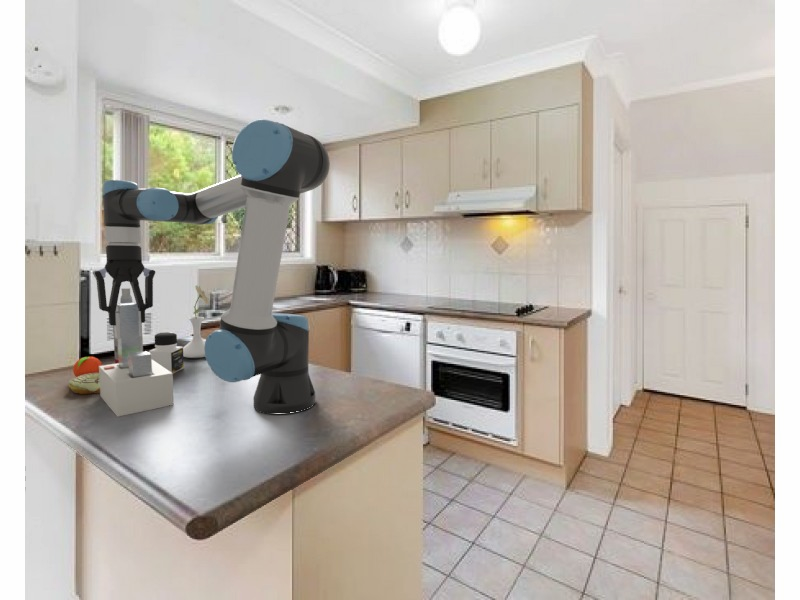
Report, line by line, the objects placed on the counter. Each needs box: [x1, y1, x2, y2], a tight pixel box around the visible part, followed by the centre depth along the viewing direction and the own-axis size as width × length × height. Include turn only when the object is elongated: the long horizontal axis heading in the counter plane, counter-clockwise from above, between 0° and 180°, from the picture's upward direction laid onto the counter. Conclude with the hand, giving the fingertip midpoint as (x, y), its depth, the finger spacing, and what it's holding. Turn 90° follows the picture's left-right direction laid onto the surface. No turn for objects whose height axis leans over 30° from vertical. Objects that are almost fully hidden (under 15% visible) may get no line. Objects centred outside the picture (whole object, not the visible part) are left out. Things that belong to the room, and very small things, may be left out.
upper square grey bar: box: [116, 302, 140, 369], centre depth 114 cm, size 4×4×18 cm
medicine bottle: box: [148, 331, 185, 375], centre depth 138 cm, size 7×7×12 cm
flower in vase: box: [182, 284, 211, 359], centre depth 156 cm, size 13×11×25 cm
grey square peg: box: [128, 350, 152, 378], centre depth 108 cm, size 4×4×13 cm
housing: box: [99, 359, 175, 418], centre depth 112 cm, size 12×18×8 cm, turn 44°
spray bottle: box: [112, 287, 144, 364], centre depth 142 cm, size 8×8×25 cm
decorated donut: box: [68, 373, 100, 395], centre depth 120 cm, size 10×11×4 cm
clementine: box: [72, 355, 103, 377], centre depth 126 cm, size 8×7×7 cm
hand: (128, 336), depth 114 cm, fingers closed on upper square grey bar, 4 cm apart
